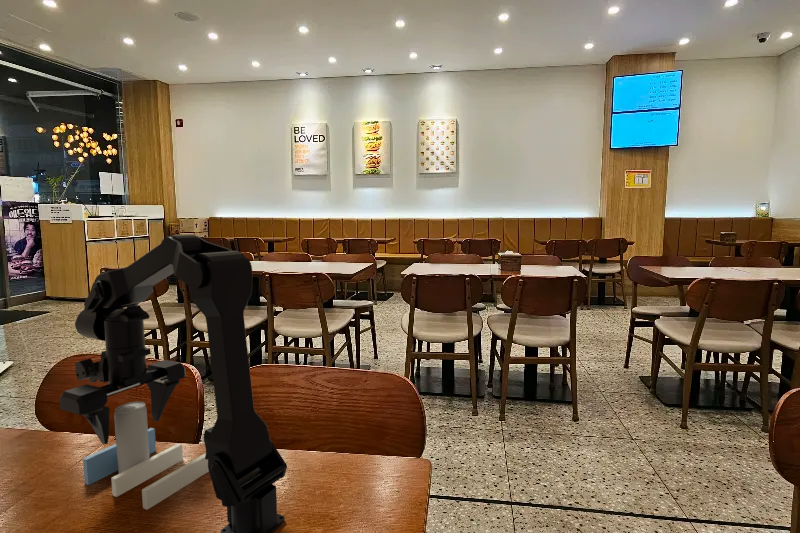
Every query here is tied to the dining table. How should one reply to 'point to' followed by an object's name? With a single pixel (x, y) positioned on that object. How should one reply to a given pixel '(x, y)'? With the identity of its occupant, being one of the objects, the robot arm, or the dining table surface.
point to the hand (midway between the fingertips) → (131, 431)
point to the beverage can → (131, 435)
